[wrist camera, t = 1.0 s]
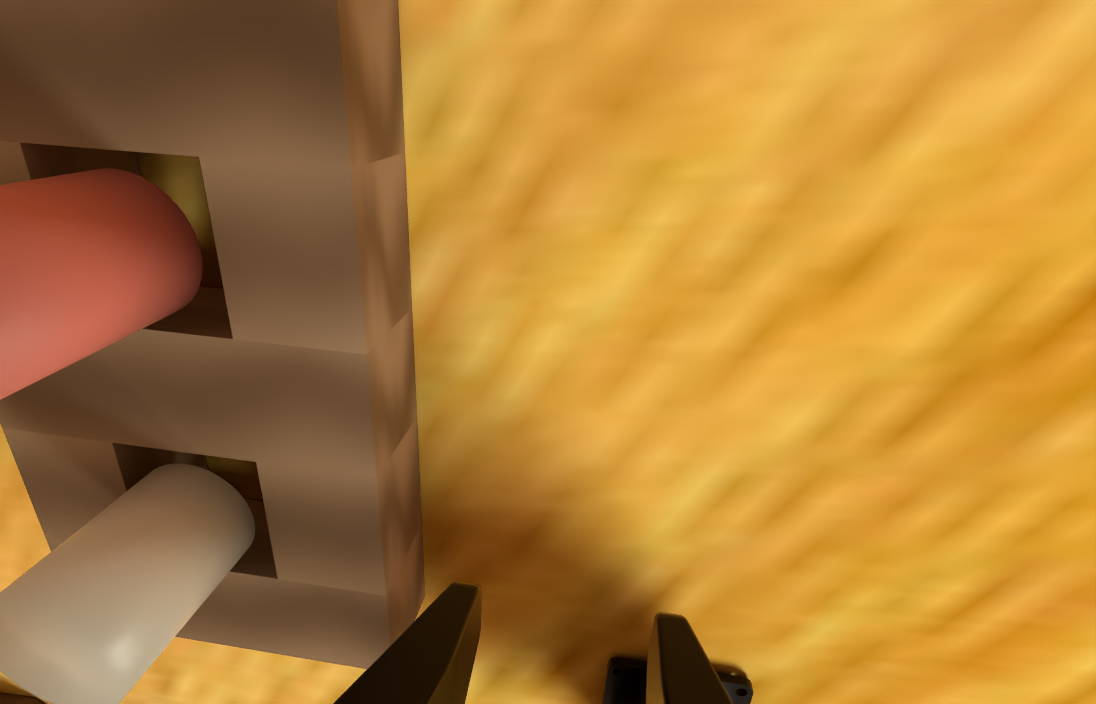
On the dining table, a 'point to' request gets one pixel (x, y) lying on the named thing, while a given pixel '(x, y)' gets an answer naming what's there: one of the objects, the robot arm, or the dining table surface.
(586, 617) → the dining table surface
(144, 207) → the red plunger
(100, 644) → the grey plunger
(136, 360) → the press panel
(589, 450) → the dining table surface
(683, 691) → the robot arm
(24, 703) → the beer bottle
